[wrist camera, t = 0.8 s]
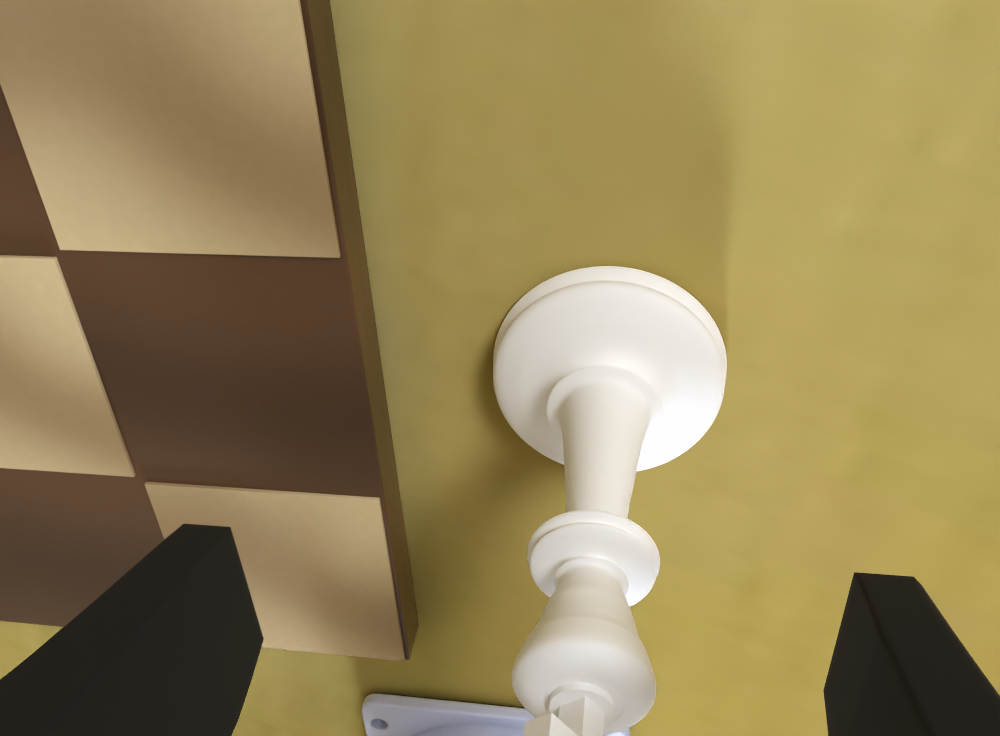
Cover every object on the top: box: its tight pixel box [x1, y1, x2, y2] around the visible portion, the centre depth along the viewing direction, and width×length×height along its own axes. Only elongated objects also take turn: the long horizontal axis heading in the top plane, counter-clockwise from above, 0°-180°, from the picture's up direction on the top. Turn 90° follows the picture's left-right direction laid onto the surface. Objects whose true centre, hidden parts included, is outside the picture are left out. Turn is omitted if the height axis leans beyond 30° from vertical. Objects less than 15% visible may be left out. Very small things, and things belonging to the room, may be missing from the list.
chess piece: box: [493, 266, 727, 736], centre depth 14 cm, size 5×5×10 cm
